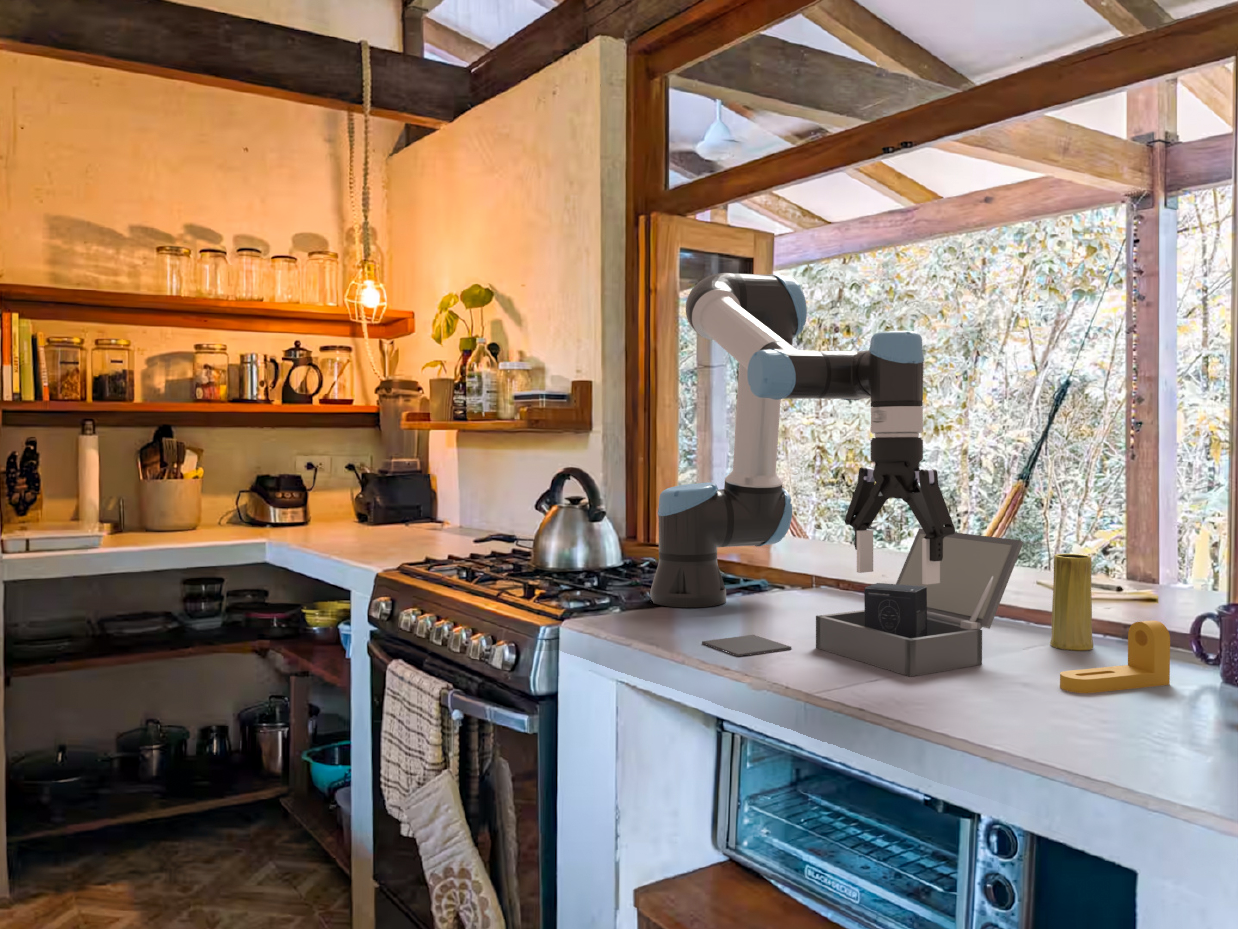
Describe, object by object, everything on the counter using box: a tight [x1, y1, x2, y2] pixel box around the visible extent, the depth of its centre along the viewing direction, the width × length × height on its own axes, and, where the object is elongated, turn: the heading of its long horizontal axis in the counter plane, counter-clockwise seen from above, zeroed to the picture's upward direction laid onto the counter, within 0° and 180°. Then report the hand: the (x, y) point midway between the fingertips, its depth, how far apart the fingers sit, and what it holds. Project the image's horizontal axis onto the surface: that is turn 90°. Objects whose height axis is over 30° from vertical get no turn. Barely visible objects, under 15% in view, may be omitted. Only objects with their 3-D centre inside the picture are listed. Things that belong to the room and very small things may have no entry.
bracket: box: [1059, 620, 1171, 694], centre depth 125 cm, size 15×4×8 cm, turn 107°
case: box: [815, 527, 1024, 677], centre depth 144 cm, size 20×22×18 cm
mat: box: [701, 634, 792, 657], centre depth 149 cm, size 10×10×1 cm
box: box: [863, 582, 927, 639], centre depth 142 cm, size 8×6×11 cm
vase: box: [1049, 553, 1094, 652], centre depth 147 cm, size 6×6×14 cm
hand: (896, 577), depth 142 cm, fingers open, 13 cm apart
